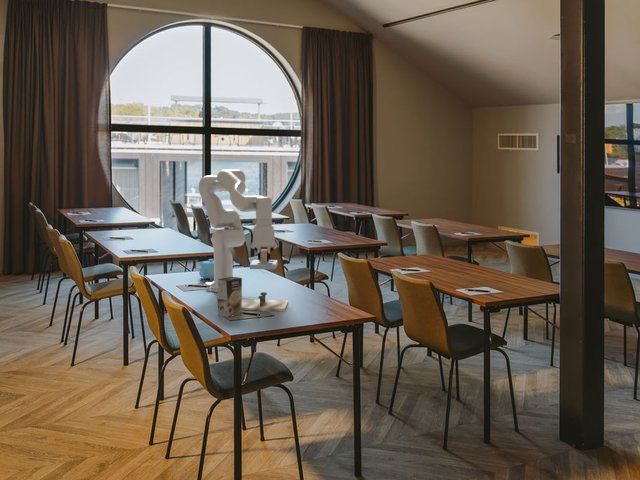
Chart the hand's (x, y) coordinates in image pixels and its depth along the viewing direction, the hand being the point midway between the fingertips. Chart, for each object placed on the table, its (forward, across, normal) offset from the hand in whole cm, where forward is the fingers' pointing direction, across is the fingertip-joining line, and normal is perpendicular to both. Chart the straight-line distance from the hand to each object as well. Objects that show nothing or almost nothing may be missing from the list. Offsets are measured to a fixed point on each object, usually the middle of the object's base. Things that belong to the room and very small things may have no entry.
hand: (264, 260), depth 335 cm
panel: (+3, 0, 0) cm, 3 cm away
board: (+20, 0, -12) cm, 23 cm away
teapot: (+19, -34, +57) cm, 69 cm away
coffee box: (+20, -13, -28) cm, 37 cm away
